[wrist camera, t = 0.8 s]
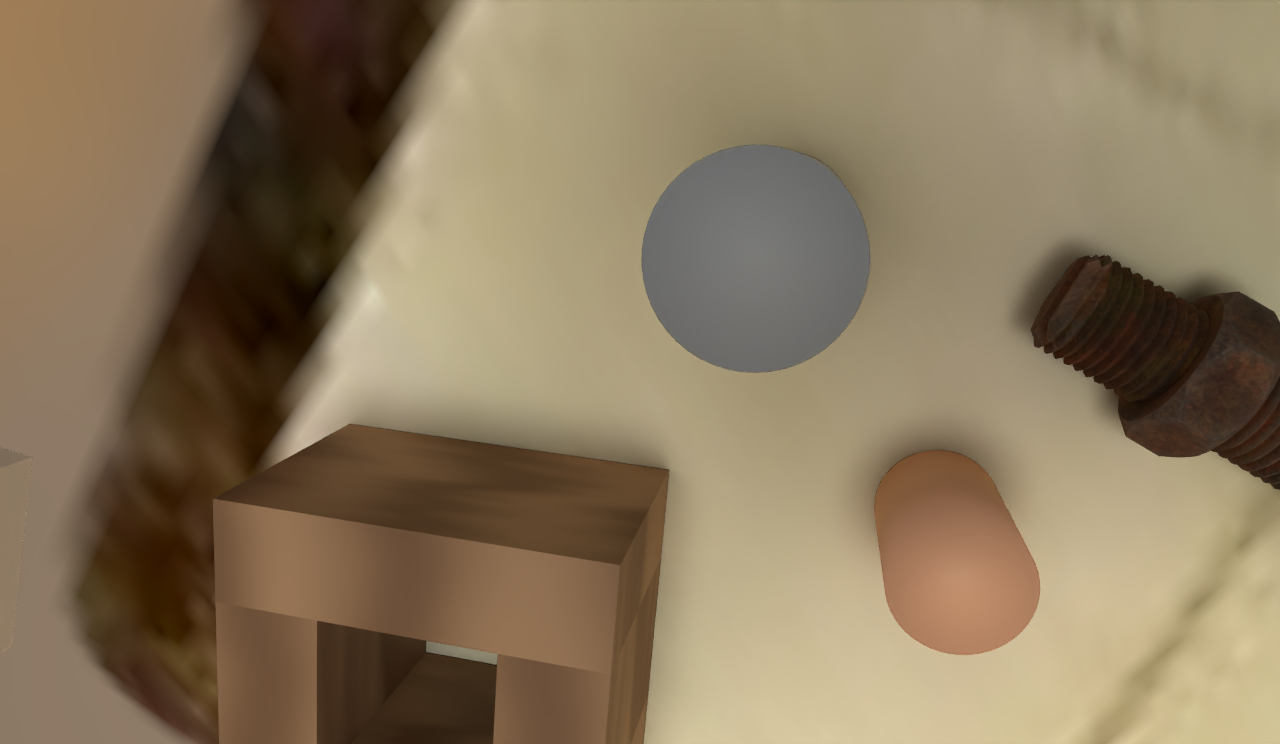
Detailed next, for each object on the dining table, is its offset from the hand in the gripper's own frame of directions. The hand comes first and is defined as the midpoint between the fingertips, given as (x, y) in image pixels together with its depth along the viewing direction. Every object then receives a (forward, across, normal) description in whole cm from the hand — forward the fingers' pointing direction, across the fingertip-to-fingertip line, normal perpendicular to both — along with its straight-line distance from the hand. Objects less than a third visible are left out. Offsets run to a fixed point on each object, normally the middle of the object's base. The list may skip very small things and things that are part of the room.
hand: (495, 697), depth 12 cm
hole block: (+21, -4, -10) cm, 24 cm away
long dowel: (+20, +2, +6) cm, 21 cm away
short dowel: (+20, +10, -2) cm, 23 cm away
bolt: (+20, +18, +4) cm, 27 cm away
